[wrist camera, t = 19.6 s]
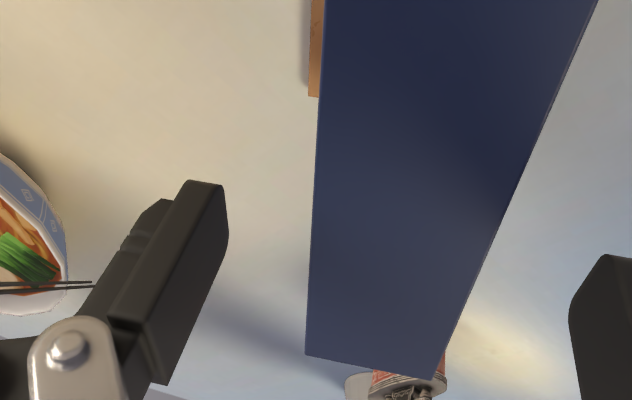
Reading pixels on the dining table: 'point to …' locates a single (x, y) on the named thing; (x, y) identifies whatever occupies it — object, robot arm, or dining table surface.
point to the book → (421, 163)
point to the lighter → (407, 385)
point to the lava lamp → (358, 386)
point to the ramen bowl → (30, 247)
